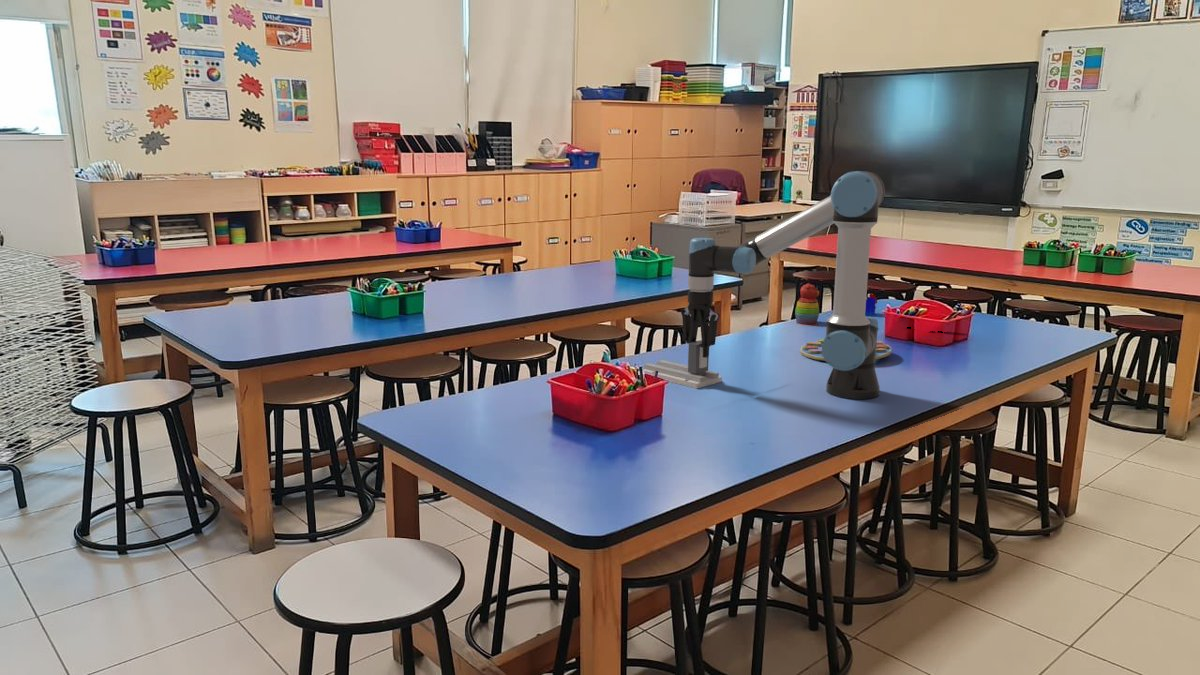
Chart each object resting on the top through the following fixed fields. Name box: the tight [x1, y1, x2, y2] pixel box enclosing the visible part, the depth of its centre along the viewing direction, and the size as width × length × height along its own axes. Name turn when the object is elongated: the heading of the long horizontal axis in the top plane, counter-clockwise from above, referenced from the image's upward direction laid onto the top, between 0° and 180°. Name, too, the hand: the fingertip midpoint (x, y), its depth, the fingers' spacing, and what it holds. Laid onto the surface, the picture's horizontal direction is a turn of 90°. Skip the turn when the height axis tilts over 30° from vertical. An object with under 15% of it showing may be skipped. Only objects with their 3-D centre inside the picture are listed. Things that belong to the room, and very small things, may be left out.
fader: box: [687, 339, 710, 376], centre depth 264 cm, size 3×6×11 cm, turn 134°
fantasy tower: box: [865, 292, 878, 317], centre depth 367 cm, size 12×12×12 cm
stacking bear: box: [794, 282, 820, 327], centre depth 349 cm, size 11×10×18 cm
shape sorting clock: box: [799, 338, 893, 365], centre depth 301 cm, size 31×30×6 cm
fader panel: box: [642, 359, 723, 389], centre depth 270 cm, size 23×12×3 cm, turn 44°
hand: (698, 366), depth 265 cm, fingers closed on fader, 3 cm apart
